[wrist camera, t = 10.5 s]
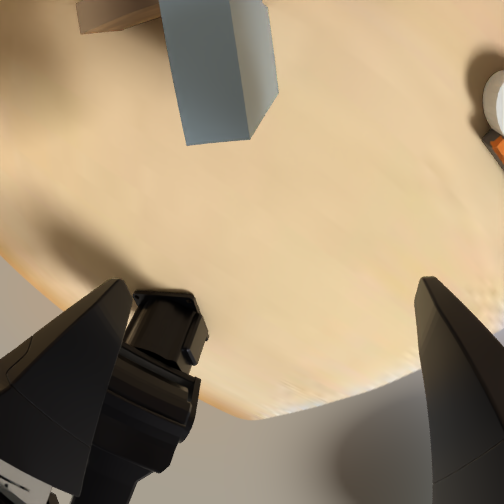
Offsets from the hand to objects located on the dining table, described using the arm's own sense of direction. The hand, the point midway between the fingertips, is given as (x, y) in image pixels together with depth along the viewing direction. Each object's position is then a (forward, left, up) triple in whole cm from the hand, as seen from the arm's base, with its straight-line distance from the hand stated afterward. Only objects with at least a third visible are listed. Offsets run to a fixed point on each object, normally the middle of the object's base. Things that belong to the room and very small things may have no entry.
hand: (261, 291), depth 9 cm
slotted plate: (-1, +10, -12) cm, 16 cm away
